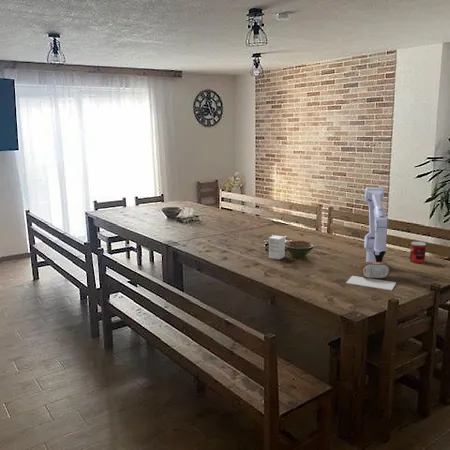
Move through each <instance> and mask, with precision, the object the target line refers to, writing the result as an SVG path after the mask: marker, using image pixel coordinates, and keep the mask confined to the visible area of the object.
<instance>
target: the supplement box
mask: <svg viewBox="0 0 450 450" xmlns="http://www.w3.org/2000/svg"><path fill="white" fill-rule="evenodd" d="M285 241H286V236H282V235H272V236H270V237H268V259H269V258H270V259H273V260H274V259H275V260H281V259H283V258H285V253H286V252H285V249H286V246H285V245H286V242H285Z"/></svg>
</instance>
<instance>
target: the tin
mask: <svg viewBox="0 0 450 450" xmlns="http://www.w3.org/2000/svg"><path fill="white" fill-rule="evenodd" d="M359 272H360V274H361V276H362V277H364V278H370V279H378V280H383V279H386V278H387V277H388V276H389V275H390V272H391V269H390V266H389V265H388V264H387V263H386V262H383V261H382V262H366V261H365V262H364V263H362V264H361V265H360V268H359Z"/></svg>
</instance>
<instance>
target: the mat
mask: <svg viewBox="0 0 450 450" xmlns="http://www.w3.org/2000/svg"><path fill="white" fill-rule="evenodd" d="M345 283H346V284H348V285H355V286H360V287H366V288H372V289H378V290H385V291H390V292H392V291H393V290H394V288H395V286H396V285H397V282H395V281H390V280H383V279H378V278H365V277H364V276H356V275H351V276H350V277H349V278H348V280H346V282H345Z"/></svg>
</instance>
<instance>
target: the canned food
mask: <svg viewBox="0 0 450 450" xmlns="http://www.w3.org/2000/svg"><path fill="white" fill-rule="evenodd" d="M426 249H427V244H426V242H423V241H411V243H410V253H409V254H410V255H409V261H410V262H411V263H413V264H423V263H425V261H426V252H427V251H426Z"/></svg>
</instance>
